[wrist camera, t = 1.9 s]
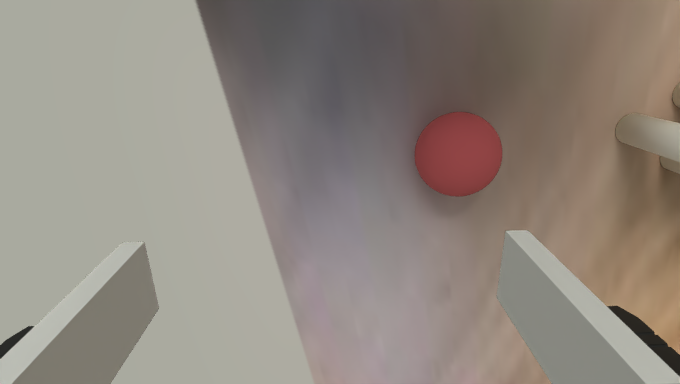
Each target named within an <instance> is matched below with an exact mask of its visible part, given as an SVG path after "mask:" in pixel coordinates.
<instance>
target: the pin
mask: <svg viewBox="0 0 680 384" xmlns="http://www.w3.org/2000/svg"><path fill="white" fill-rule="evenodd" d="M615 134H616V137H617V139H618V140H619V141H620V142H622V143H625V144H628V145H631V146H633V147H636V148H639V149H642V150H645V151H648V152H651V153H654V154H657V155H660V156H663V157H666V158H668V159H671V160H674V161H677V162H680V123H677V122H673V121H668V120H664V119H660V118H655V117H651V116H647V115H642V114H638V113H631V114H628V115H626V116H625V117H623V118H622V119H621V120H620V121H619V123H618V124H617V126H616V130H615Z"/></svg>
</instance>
